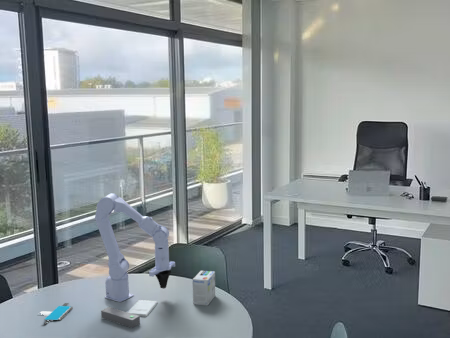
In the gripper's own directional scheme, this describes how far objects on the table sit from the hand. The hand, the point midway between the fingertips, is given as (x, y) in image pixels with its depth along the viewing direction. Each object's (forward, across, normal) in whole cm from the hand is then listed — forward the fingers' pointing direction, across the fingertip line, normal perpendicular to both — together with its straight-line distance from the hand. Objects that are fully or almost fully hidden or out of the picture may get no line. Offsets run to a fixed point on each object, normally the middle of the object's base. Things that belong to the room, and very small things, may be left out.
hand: (163, 287), depth 197 cm
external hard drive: (+5, -13, 0) cm, 14 cm away
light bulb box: (+5, +7, -16) cm, 18 cm away
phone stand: (+5, -34, +27) cm, 44 cm away
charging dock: (+4, -25, 0) cm, 25 cm away
